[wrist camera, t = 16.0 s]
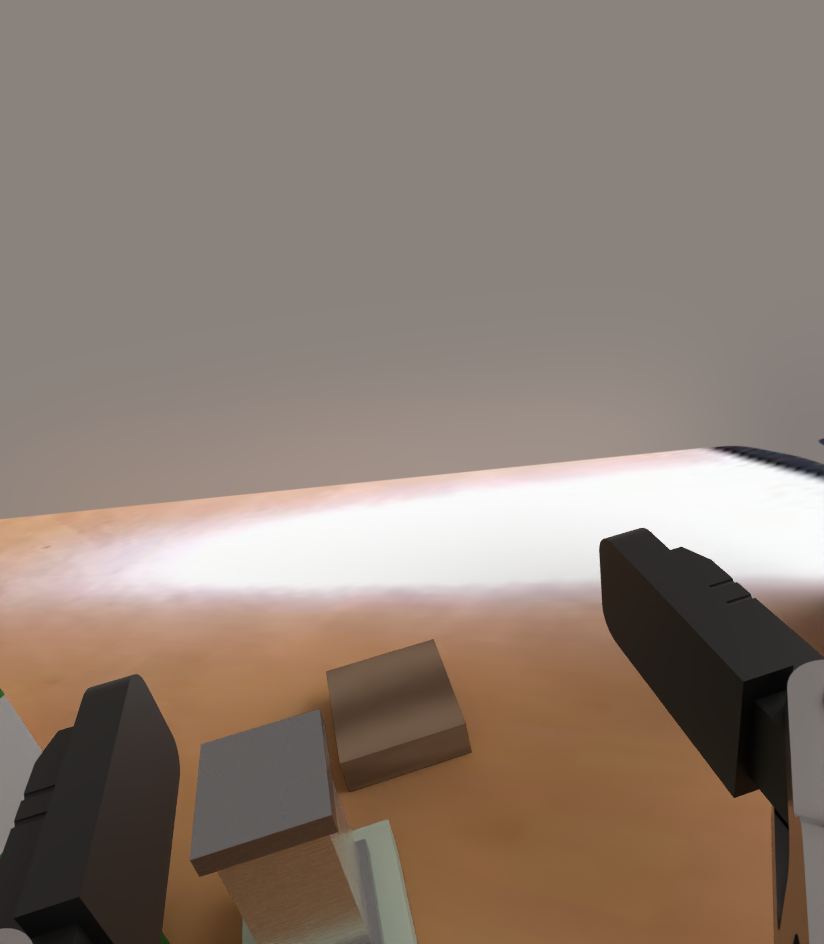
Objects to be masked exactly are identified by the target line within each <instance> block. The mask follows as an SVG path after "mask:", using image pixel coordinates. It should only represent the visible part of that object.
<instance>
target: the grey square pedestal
mask: <svg viewBox="0 0 824 944" xmlns="http://www.w3.org/2000/svg"><path fill="white" fill-rule="evenodd" d="M190 861H191V863H192V865H193V866H194V868H195V870H196V872H197V873H198V875H199V877H201V876H204V875H207V874H210V873H214V872H218V874H219V875H220V877H221V879H222V881H223V883H224V885H225V886H226V888H227V890H228V892H229V894H230V896H231V897H232V899H233V901H234V903H235V905H236V907H237V908H238V910H239V912H240V914H241V916H242V918H243V919H244V921H245V923H246V925H247V927H248V929H249V930H250V932H251V934H252V936H253V938H254V939H255V941H256V943H257V944H384V937H383V931H382V925H381V919H380V913H379V907H378V900H377V894H376V888H375V882H374V876H373V870H372V863H371V857H370V851H369V848H368V845H367V842H366V840H365V839H362V840H359V841H356V842H355V840H354V837H353V834H352V832H351V829H350V826H349V823H348V821H347V818H346V815H345V812H344V810H343V807H342V804H341V801H340V799H339V796H338V793H337V790H336V788H335V785H334V782H333V779H332V776H331V768H330V759H329V751H328V743H327V734H326V726H325V723H324V720H323V717H322V714H321V711H320V709H317V710H314V711H310V712H307V713H304V714H300V715H297V716H294V717H290V718H287V719H284V720H280V721H277V722H274V723H270V724H267V725H264V726H260V727H257V728H254V729H250V730H247V731H244V732H241V733H237V734H234V735H231V736H227V737H224V738H221V739H217V740H214V741H211V742H207V743H204V744H201V751H200V761H199V772H198V782H197V792H196V803H195V813H194V823H193V834H192V844H191V855H190Z"/></svg>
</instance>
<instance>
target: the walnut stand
mask: <svg viewBox="0 0 824 944" xmlns="http://www.w3.org/2000/svg"><path fill="white" fill-rule="evenodd" d="M326 674H327V681H328V687H329V694H330V701H331V708H332V715H333V721H334V728H335V735H336V742H337V749H338V755H339V762H340V766H341V769H342V772H343V775H344V777H345V780H346V783H347V786H348V789H349V792H351V791H354V790H357V789H360V788H363V787H366V786H369V785H372V784H375V783H379V782H382V781H385V780H388V779H391V778H394V777H397V776H400V775H403V774H406V773H409V772H412V771H415V770H419V769H422V768H425V767H428V766H431V765H434V764H437V763H440V762H443V761H446V760H449V759H452V758H455V757H459V756H462V755H465V754H468V753H471V747H470V742H469V738H468V733H467V728H466V723H465V721H464V718H463V715H462V713H461V710H460V707H459V705H458V702H457V700H456V697H455V694H454V692H453V689H452V686H451V684H450V681H449V679H448V676H447V673H446V671H445V668H444V665H443V663H442V660H441V658H440V655H439V652H438V650H437V647H436V645H435V642H434V639H432V640H429V641H426V642H423V643H419V644H416V645H413V646H409V647H406V648H403V649H399V650H396V651H393V652H389V653H386V654H383V655H379V656H376V657H373V658H369V659H366V660H363V661H360V662H356V663H353V664H350V665H346V666H343V667H340V668H336V669H333V670H330V671H326Z"/></svg>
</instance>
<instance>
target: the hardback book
mask: <svg viewBox="0 0 824 944" xmlns="http://www.w3.org/2000/svg"><path fill="white" fill-rule="evenodd" d="M41 754H42V750H41V749H40V747H39V746H38V744H37V743H36V741H35V740H34V738H33V737H32V735H31V734H30V732H29V731H28V729H27V728H26V726H25V725H24V723H23V722H22V720H21V719H20V717H19V716H18V714H17V713H16V711H15V710H14V708H13V707H12V705H11V704H10V702H9V701H8V699H7V698H6V696H5V695H4V693H3V692H2V690H1V689H0V858H1V855H2V853H3V850H4V847H5V844H6V841H7V839H8V836H9V833H10V830H11V828H14V826H15V824H14V819H15V816H16V814H17V811H18V808H19V805H20V802H21V801H22V800H24V795H23V794H24V791H25V789H26V786H27V783H28V780H29V777H30V775H31V772H32V769H33V766H34V764H35V762H36V760H37V759H38V758H39V756H40V755H41ZM160 944H169V942H168V941H167V939H166V938H165V936H164V935H163V933H162V934H161V942H160Z"/></svg>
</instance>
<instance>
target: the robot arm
mask: <svg viewBox="0 0 824 944" xmlns="http://www.w3.org/2000/svg"><path fill="white" fill-rule="evenodd" d="M599 553H600V571H601V589H602V606H603V613H604V617H605V620H606V623H607V626H608V628H609V631H610V633H611V635H612V637H613V638H614V640H615V642H616V643H617V644H618V646H619V647H620V648H621V650H622V651H623V652H624V654H625V655H626V656H627V657H628V659H629V660H630V661H631V663H632V664H633V665H634V667H635V668H636V669H637V671H638V672H639V673H640V675H641V676H642V677H643V679H644V680H645V681H646V683H647V684H648V685H649V686H650V688H651V689H652V690H653V692H654V693H655V694H656V696H657V697H658V698H659V700H660V701H661V702H662V704H663V705H664V706H665V708H666V709H667V710H668V712H669V713H670V714H671V715H672V717H673V718H674V719H675V721H676V722H677V723H678V725H679V726H680V727H681V729H682V730H683V731H684V733H685V734H686V735H687V737H688V738H689V739H690V741H691V742H692V743H693V745H694V746H695V747H696V748H697V750H698V751H699V752H700V754H701V755H702V756H703V758H704V759H705V760H706V762H707V763H708V764H709V766H710V767H711V768H712V770H713V771H714V772H715V774H716V775H717V776H718V777H719V779H720V780H721V781H722V783H723V784H724V785H725V787H726V788H727V789H728V791H729V792H730V793H731V795H732V796H733V797H734V798H736V797H738V796H741V795H744V794H747V793H750V792H753V791H756V790H758V789H760V790H761V792H762V793H763V794H764V795H765V797H766V798H767V799H768V800H769V801H770V803H771V804H772V812H771V840H772V882H773V925H774V944H824V657H823V656H822V655H820V654H819V653H818V652H817V651H816V650H815V649H813V648H812V647H811V646H810V645H809V644H808V643H807V642H805V641H804V640H803V639H802V638H801V637H800V636H798V635H797V634H796V633H795V632H794V631H793V630H792V629H790V628H789V627H788V626H787V625H786V624H785V623H783V622H782V621H781V620H780V619H779V618H778V617H777V616H775V615H774V614H773V613H772V612H771V611H770V610H768V609H767V608H766V607H765V606H764V605H763V604H762V603H760V602H759V601H758V600H757V599H756V598H754V599H753V598H752V597H751V594H750V593H749V592H748V591H747V590H745V589H744V588H743V587H742V586H741V585H740V584H738V583H737V582H736V583H734V581H733V578H732V577H730V576H729V575H728V574H727V573H726V572H725V571H723V570H722V569H721V568H720V567H719V566H718V565H717V564H715V563H714V562H713V561H712V560H711V559H708V558H706V557H704V556H701V555H699V554H697V553H695V552H692V551H690V550H688V549H685V548H683V547H679V548H676V549H672V550H669V549H668V548H667V547H666V546H665V545H664V544H663V543H662V542H661V541H660V540H659V539H658V538H656V537H655V536H654V535H653V534H652V533H651V532H650V531H649V530H647V529H645V528H639V529H636V530H633V531H629V532H626V533H622V534H619V535H615V536H612V537H609V538H605V539H603V540H602V541H601V542H600V547H599ZM179 779H180V763H179V755H178V750H177V746H176V743H175V740H174V738H173V735H172V733H171V731H170V729H169V728H168V726H167V724H166V722H165V720H164V718H163V716H162V714H161V712H160V710H159V708H158V706H157V704H156V702H155V700H154V698H153V696H152V694H151V693H150V691H149V689H148V687H147V685H146V683H145V681H144V680H143V678H142V677H141V676H140V675H138V674H135V675H131V676H128V677H124V678H121V679H118V680H114V681H111V682H107V683H104V684H100V685H97V686H94V687H90V688H88V689H87V690H86V692H85V693H84V696H83V698H82V702H81V705H80V708H79V711H78V714H77V718H76V721H75V724H74V726H73V727H70V728H66V729H63V730H60V731H58V732H57V734H56V735H55V736H54V738H53V739H52V740H51V742H50V743H49V744H48V746H47V747H46V748H45V750H44V751H43V752H42V754H41V755H40V756H39V758H38V759H37V760H36V762H35V764H34V766H33V769H32V772H31V775H30V777H29V780H28V783H27V786H26V789H25V791H24V794H23V795H24V800H22V801H21V802H20V805H19V808H18V811H17V814H16V816H15V819H14V824H15V826H14V828H11V830H10V833H9V836H8V839H7V841H6V844H5V847H4V850H3V853H2V855H1V858H0V944H160V942H161V934H162V925H163V917H164V908H165V899H166V891H167V882H168V873H169V865H170V856H171V848H172V839H173V830H174V822H175V813H176V804H177V796H178V787H179Z"/></svg>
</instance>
